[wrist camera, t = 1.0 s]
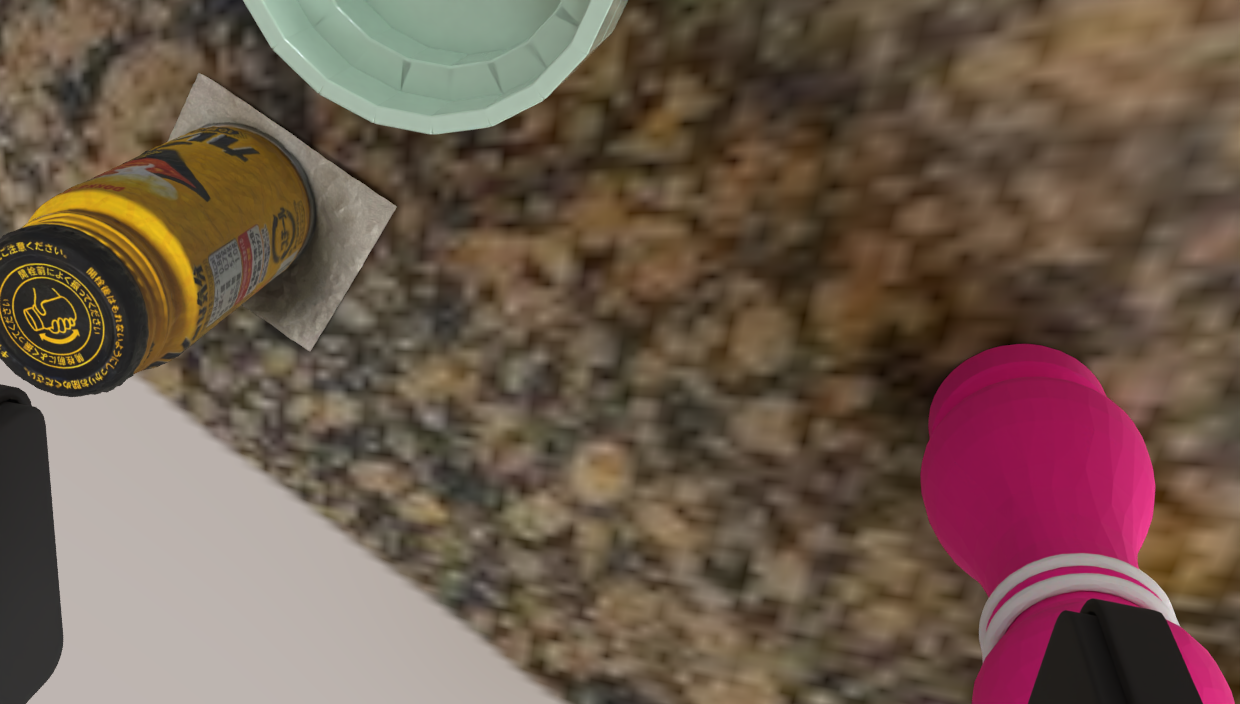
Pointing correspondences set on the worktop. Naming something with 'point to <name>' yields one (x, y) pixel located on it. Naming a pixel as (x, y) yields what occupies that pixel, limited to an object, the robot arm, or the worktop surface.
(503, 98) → the bowl
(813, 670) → the worktop surface
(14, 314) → the condiment
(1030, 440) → the pepper mill
